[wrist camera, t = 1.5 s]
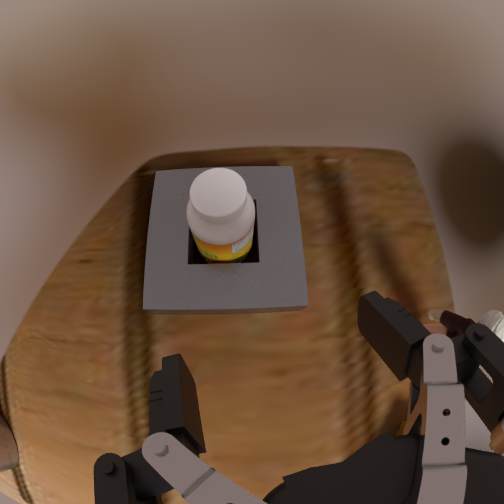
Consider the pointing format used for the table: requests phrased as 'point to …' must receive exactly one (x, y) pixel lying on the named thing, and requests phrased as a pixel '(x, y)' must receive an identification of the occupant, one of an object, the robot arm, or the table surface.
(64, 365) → the table surface
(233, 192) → the supplement bottle
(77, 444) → the table surface
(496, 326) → the grandmother figurine
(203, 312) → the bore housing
